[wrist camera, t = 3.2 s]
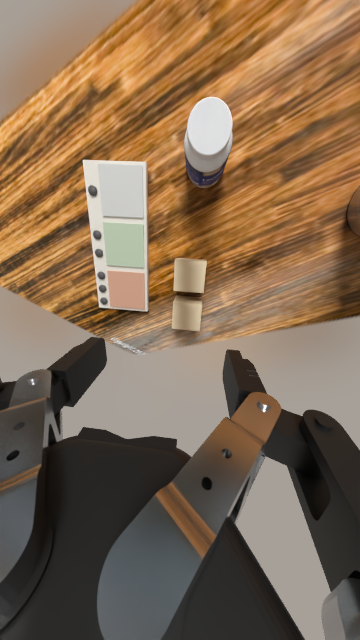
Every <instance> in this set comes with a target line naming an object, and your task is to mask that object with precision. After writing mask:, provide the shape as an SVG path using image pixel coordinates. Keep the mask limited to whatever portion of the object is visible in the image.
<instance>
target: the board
mask: <svg viewBox="0 0 360 640" xmlns="http://www.w3.org/2000/svg"><path fill="white" fill-rule="evenodd" d="M83 167H84V176H85V185H86V194H87V203H88V212H89V220H90V229H91V238H92V247H93V256H94V265H95V273H96V282H97V291H98V300H99V307H100V308H112V309H124V310H136V311H148V310H149V273H148V164H147V163H146V162H131V161H100V160H83Z"/></svg>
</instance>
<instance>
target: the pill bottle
mask: <svg viewBox="0 0 360 640" xmlns="http://www.w3.org/2000/svg"><path fill="white" fill-rule="evenodd" d="M231 147H232V116H231V112H230V110H229V108H228V106H227V105H226V103H225V102H223V101H222V100H221V99H219V98H216V97H207V98H204V99H202V100H201V101H199V102H198V103H197V104H196V105H195V107H194V108H193V110H192V111H191V114H190V116H189V119H188V125H187V131H186V134H185V140H184V150H185V159H186V169H187V173H188V176H189V179H190V180H191V182H192V183H193V184H194V185H196V186H198V187H200V188H208V187H211V186H213V185H214V184H215V183H216V182H217V181H218V180H219V179H220V177H221V175H222V173H223V170H224V168H225V165H226V162H227V159H228V156H229V154H230V150H231Z"/></svg>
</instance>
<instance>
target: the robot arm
mask: <svg viewBox="0 0 360 640" xmlns="http://www.w3.org/2000/svg"><path fill="white" fill-rule="evenodd" d="M347 219H348V224H349V226H350V228H351V230H352V231H353V232H354V233H355V234H357V235H358V236H360V187H359V188H358V189H357V190H356V192H355V193H354V195H353V197H352V199H351V201H350V203H349V207H348V213H347ZM105 348H106V347H105V340H104V339H103V338H97V337H91V338H89V339H88V340H87V341H86V342H84V343H83V344H80V345H78V346H76V347H74V348H73V349H71V350H70V351H69V352H68V353H66V354H65V355H64V356H63V357H61V358H60V359H59V360H58V361H56V362H55V363H54V364H53V365H51V366H50V367H49V368H47V369H40V370H35V371H32V372H29V373H27V374H25V375H23V376H22V377H20V378H19V379H18V380H17V381H13V382H5V383H2V381H1V379H0V640H305V639H304V638H303V636H302V634H301V632H300V631H299V629H298V627H297V626H296V624H295V622H294V621H293V619H292V618H291V616H290V614H289V612H288V611H287V609H286V607H285V606H284V604H283V602H282V601H281V599H280V598H279V596H278V594H277V593H276V591H275V589H274V588H273V586H272V585H271V583H270V581H269V580H268V578H267V576H266V574H265V573H264V571H263V569H262V568H261V566H260V565H259V563H258V561H257V559H256V558H255V556H254V555H253V553H252V551H251V550H250V548H249V547H248V545H247V543H246V541H245V540H244V538H243V536H242V535H241V533H240V531H239V530H238V528H237V527H236V525H235V524H236V522H237V519H238V517H239V515H240V513H241V510H242V508H243V506H244V504H245V501H246V499H247V496H248V493H249V491H250V489H251V487H252V484H253V482H254V480H255V478H256V476H257V474H258V472H259V469H260V467H261V465H262V463H263V461H264V459H265V456H267V457H269V458H271V459H273V460H275V461H278V462H280V463H282V464H285V465H287V467H288V470H289V473H290V476H291V479H292V481H293V484H294V487H295V490H296V493H297V496H298V499H299V502H300V504H301V507H302V510H303V513H304V516H305V519H306V522H307V524H308V527H309V530H310V533H311V536H312V539H313V542H314V544H315V547H316V550H317V553H318V556H319V558H320V562H321V565H322V567H323V570H324V573H325V576H326V579H327V582H328V584H329V588H330V590H331V593H330V594H329V595H328V596H327V597H326V598H325V600H324V602H323V605H322V624H323V629H324V633H325V639H326V640H360V450H359V449H358V447H357V446H356V445H355V443H354V442H353V441H352V440H351V438H350V437H349V435H348V434H347V433H346V431H345V430H344V428H343V427H342V426H341V425H340V424H339V423H338V422H337V421H336V420H335V419H333V418H332V417H331V416H329V415H327V414H325V413H323V412H320V411H317V410H307V411H305V412H304V414H303V416H300V415H297V414H294V413H291V412H288V411H286V410H283V409H281V406H280V404H279V403H278V402H277V400H275V399H274V398H273V397H271V396H270V395H268V394H267V393H266V390H265V388H264V386H263V384H262V382H261V380H260V378H259V375H258V373H257V372H256V369H255V367H254V365H253V364H252V363H251V362H250V361H249V360H248V359H242V356H241V353H240V351H238V350H227V351H226V355H225V361H224V368H223V383H224V389H225V394H226V400H227V405H228V411H229V416H230V419H229V418H228V417H225V418H224V419H223V420H222V421H221V422H220V424H219V425H218V426H217V427H216V428H215V430H214V431H213V432H212V433H211V434H210V436H209V437H208V438H207V439H206V440H205V442H204V443H203V444H202V445H201V446H200V448H199V449H198V450H197V451H196V453H195V454H194V455H193V456H192V457H190V456H189V455H188V454H187V453H185V452H184V451H182V450H180V449H178V448H176V445H177V439H172V438H164V437H156V436H150V437H143V438H134V439H125V438H122V437H120V436H118V435H115V434H113V433H111V432H109V431H107V430H101V429H94V428H86V427H83V428H82V430H81V432H80V433H79V434H78V436H73V437H69V438H66V439H63V438H62V437H63V435H62V412H61V409H62V408H63V406H69V407H74V405H75V404H76V403H77V402H78V400H79V399H80V398H81V397H82V395H83V394H84V393H85V392H86V390H87V389H88V388H89V387H90V385H91V384H92V383H93V381H94V380H95V379H96V377H97V376H98V375H99V374H100V373H101V371H102V370H103V369H104V367H105V365H106V362H107V356H106V349H105Z"/></svg>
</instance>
